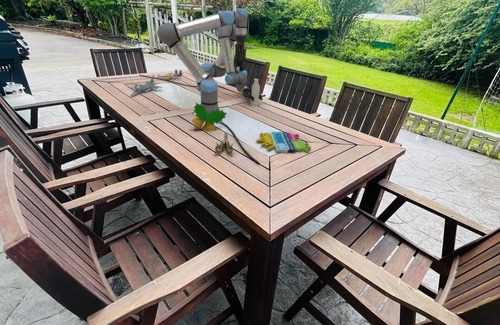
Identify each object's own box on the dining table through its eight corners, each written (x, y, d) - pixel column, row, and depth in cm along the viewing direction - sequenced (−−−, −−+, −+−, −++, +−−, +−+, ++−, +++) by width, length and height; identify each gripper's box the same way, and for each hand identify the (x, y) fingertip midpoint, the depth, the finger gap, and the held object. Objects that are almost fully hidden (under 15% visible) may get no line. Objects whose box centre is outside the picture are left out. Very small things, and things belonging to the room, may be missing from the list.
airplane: (124, 86, 239) (122, 75, 233) (160, 84, 252) (158, 73, 247) (129, 98, 210) (126, 86, 205) (168, 95, 223) (167, 83, 218)
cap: (242, 71, 186) (242, 68, 185) (236, 70, 187) (236, 67, 185) (242, 70, 190) (243, 66, 189) (236, 69, 190) (236, 66, 189)
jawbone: (234, 135, 144) (233, 125, 135) (233, 160, 138) (232, 151, 129) (217, 135, 144) (216, 125, 135) (216, 160, 138) (214, 150, 129)
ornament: (218, 133, 171) (224, 110, 169) (221, 134, 163) (227, 111, 161) (186, 125, 162) (192, 101, 160) (189, 126, 155) (195, 101, 153)
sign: (313, 150, 142) (258, 149, 139) (312, 153, 143) (258, 152, 140) (301, 132, 164) (254, 130, 161) (301, 134, 165) (254, 133, 162)
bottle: (249, 104, 216) (250, 78, 206) (256, 103, 219) (258, 78, 208) (252, 106, 211) (254, 80, 201) (259, 105, 214) (262, 80, 203)
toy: (190, 70, 289) (177, 74, 263) (190, 77, 293) (178, 82, 267) (167, 67, 294) (152, 71, 268) (168, 74, 298) (153, 79, 272)
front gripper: (252, 36, 172) (249, 72, 184) (239, 34, 185) (238, 68, 197) (242, 35, 169) (240, 73, 180) (230, 33, 182) (229, 68, 193)
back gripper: (256, 95, 231) (268, 102, 213) (235, 96, 224) (246, 104, 206) (256, 86, 228) (269, 93, 210) (236, 87, 220) (246, 95, 202)
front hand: (239, 70), depth 188 cm, fingers closed on cap, 4 cm apart
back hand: (257, 99), depth 208 cm, fingers closed on bottle, 7 cm apart
